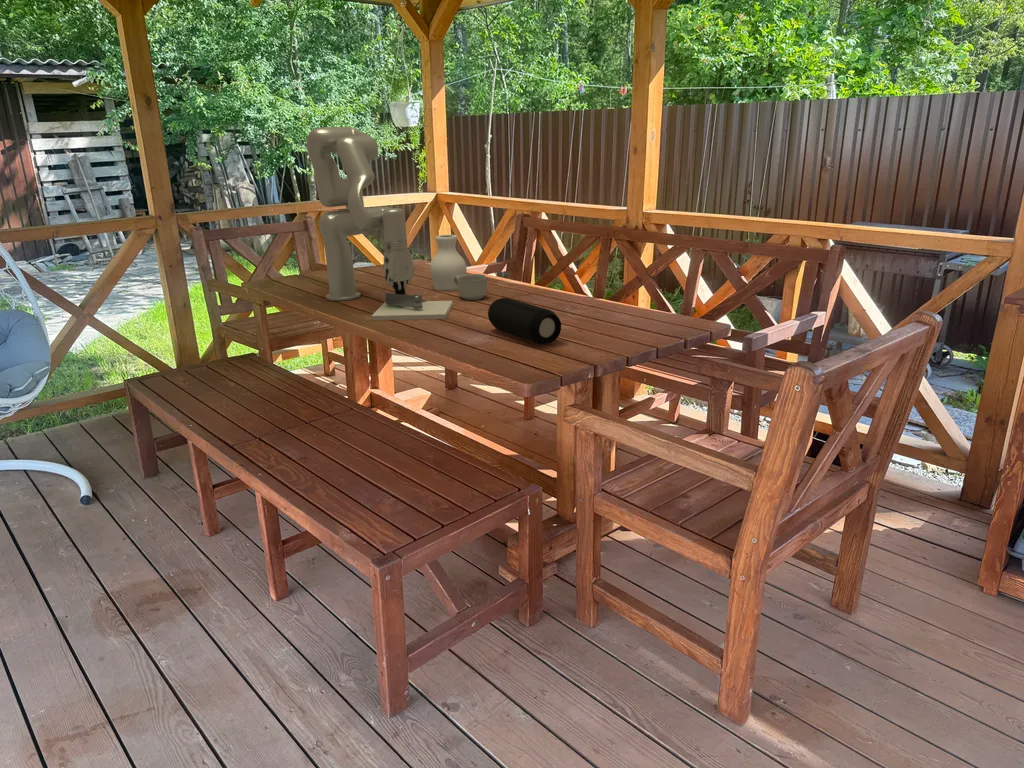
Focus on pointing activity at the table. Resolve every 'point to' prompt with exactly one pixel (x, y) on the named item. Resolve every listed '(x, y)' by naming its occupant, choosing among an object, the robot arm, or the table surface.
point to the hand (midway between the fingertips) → (400, 300)
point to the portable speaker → (525, 320)
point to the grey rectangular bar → (404, 300)
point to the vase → (446, 264)
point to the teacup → (471, 286)
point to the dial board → (414, 311)
